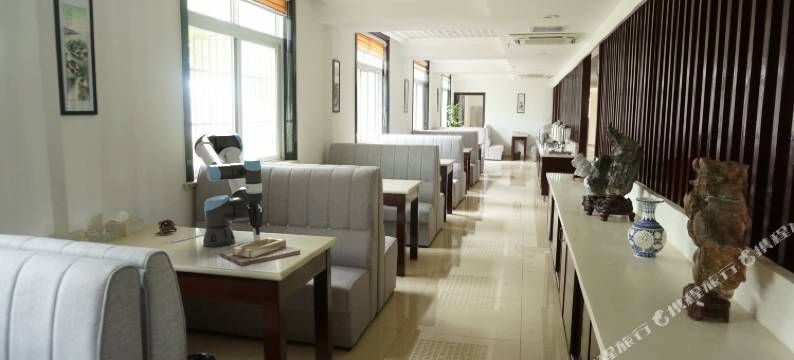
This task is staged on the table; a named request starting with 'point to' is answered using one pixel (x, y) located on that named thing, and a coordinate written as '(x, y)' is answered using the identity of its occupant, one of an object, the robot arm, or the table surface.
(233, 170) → the robot arm
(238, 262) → the display board
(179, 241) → the plaque
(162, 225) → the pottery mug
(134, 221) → the table surface
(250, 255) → the wooden tray
